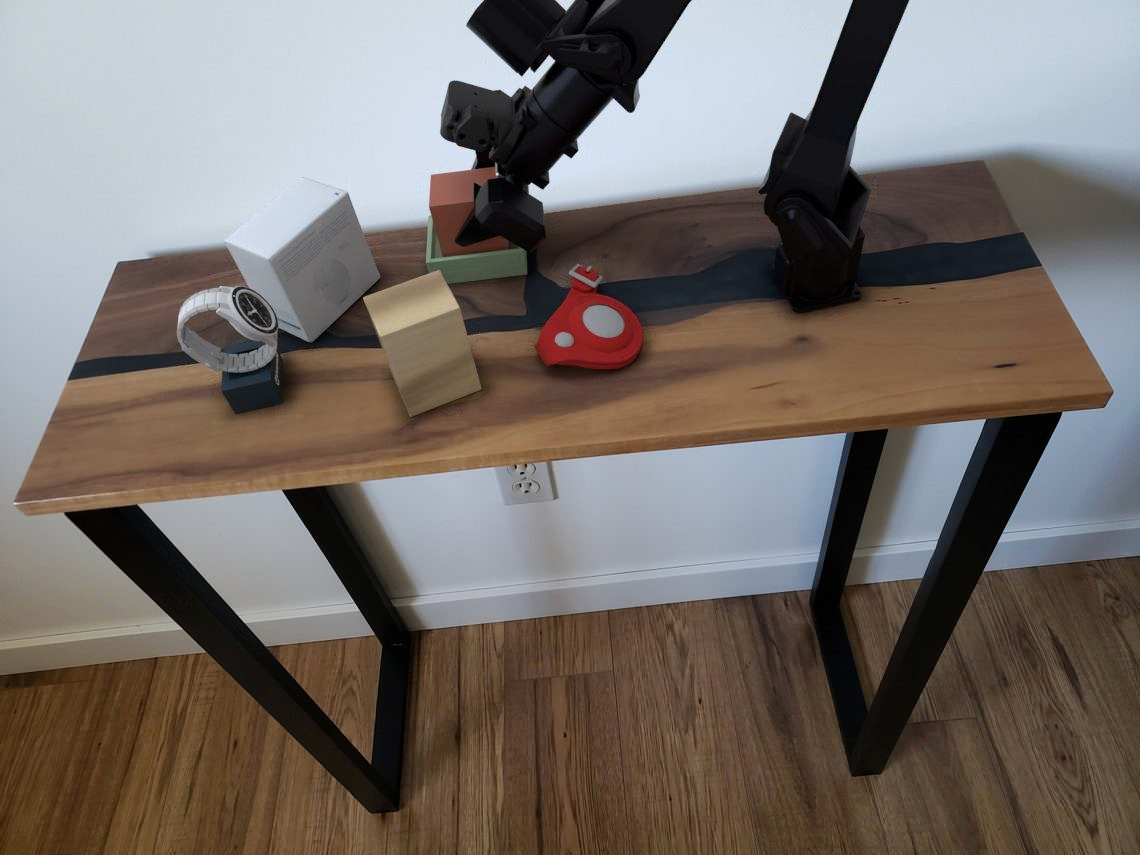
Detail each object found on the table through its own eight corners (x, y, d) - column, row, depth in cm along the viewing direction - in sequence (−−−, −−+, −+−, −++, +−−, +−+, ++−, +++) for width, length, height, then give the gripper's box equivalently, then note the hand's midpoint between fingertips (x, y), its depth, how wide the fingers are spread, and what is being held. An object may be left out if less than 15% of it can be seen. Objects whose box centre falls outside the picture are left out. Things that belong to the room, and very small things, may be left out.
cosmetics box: (335, 259, 90) (301, 173, 82) (382, 278, 87) (351, 191, 79) (263, 322, 85) (219, 238, 76) (311, 345, 82) (270, 259, 74)
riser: (482, 389, 76) (460, 307, 69) (410, 417, 75) (379, 336, 67) (462, 352, 80) (439, 269, 72) (393, 378, 78) (362, 296, 71)
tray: (525, 228, 90) (521, 204, 88) (527, 274, 85) (523, 250, 83) (434, 238, 90) (428, 215, 88) (432, 285, 86) (425, 262, 83)
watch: (304, 398, 78) (259, 309, 69) (215, 418, 77) (158, 331, 69) (303, 354, 81) (260, 264, 73) (218, 373, 81) (164, 285, 72)
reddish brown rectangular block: (510, 257, 85) (498, 198, 79) (444, 265, 85) (428, 206, 80) (509, 225, 88) (497, 166, 83) (446, 232, 88) (430, 174, 83)
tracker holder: (668, 339, 76) (575, 372, 72) (652, 370, 80) (563, 403, 75) (596, 245, 81) (504, 270, 76) (584, 277, 85) (495, 303, 80)
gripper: (482, 3, 77) (392, 128, 86) (483, 118, 66) (379, 249, 75) (578, 74, 83) (484, 185, 92) (594, 191, 71) (485, 305, 80)
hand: (459, 226), depth 85 cm, fingers closed on reddish brown rectangular block, 5 cm apart
